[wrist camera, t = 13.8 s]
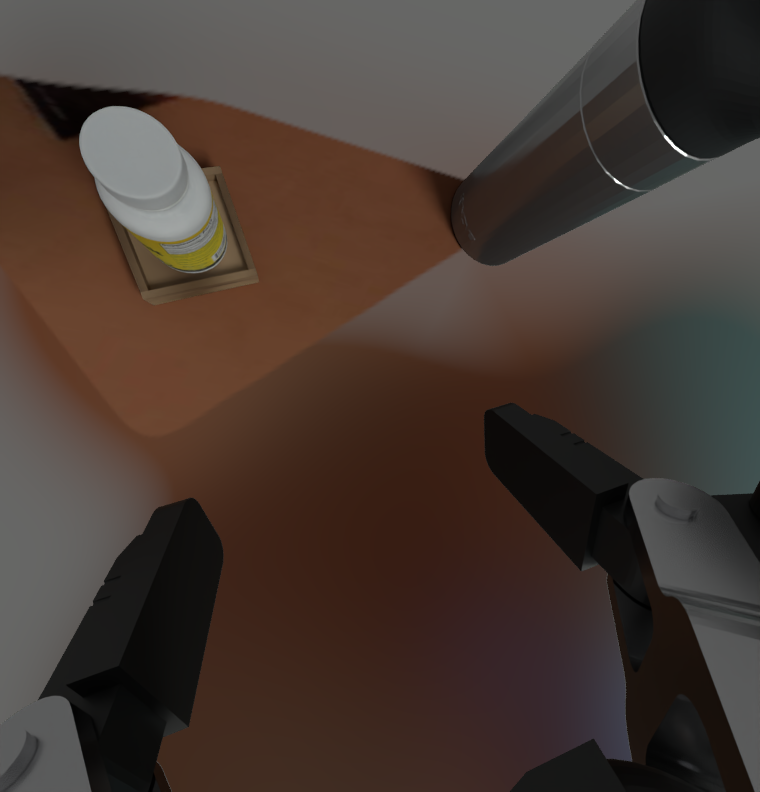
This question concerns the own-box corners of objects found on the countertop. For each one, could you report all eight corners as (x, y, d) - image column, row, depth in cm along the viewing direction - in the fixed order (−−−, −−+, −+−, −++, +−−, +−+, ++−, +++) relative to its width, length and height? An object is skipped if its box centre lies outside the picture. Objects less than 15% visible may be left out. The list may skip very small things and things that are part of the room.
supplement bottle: (130, 211, 23) (29, 96, 13) (208, 192, 24) (165, 77, 15) (168, 285, 24) (99, 226, 14) (240, 263, 25) (220, 196, 16)
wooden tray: (224, 181, 25) (219, 166, 23) (259, 282, 27) (257, 274, 25) (109, 196, 23) (95, 180, 21) (153, 305, 24) (143, 299, 22)
